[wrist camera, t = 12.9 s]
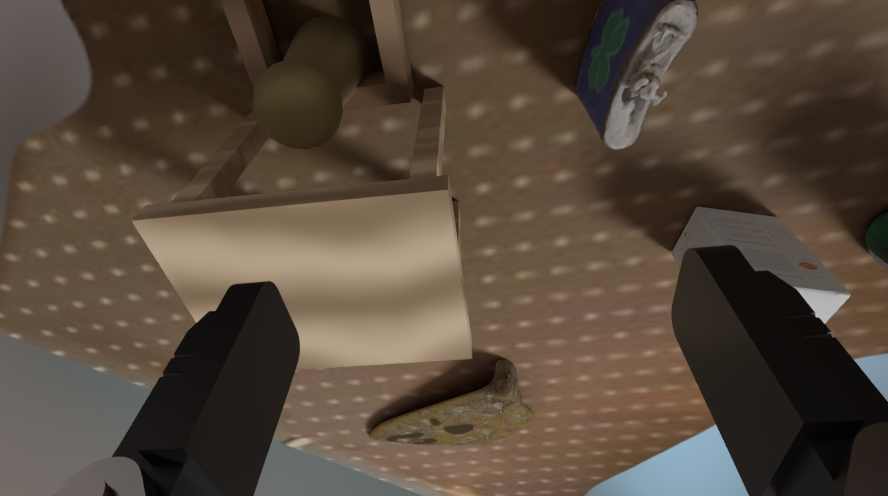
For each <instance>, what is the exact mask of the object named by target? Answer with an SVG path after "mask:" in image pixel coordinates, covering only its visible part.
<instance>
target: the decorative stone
mask: <svg viewBox="0 0 888 496" xmlns="http://www.w3.org/2000/svg"><path fill="white" fill-rule="evenodd" d="M533 418H534V412H533V411H532V410H531V409H530V408H528V407H527V406H525V405H523V404H522V403H521V396H520V391H519V387H518V379H517V372H516V369H515V367H514V365H513V364H512V363H511V362H510V361H508V360H505V359H500V360H498V361H497V362H496V365H495V375H494V378H493V380H492V382H491V383H490V384H489V385H487V386H486V387H484V388H482V389H479V390H476V391H473V392H470V393H467V394H464V395H461V396H458V397H455V398H452V399H449V400H446V401H443V402H440V403H437V404H433V405H430V406H427V407H424V408H421V409H418V410H415V411H412V412H409V413H406V414H403V415H400V416H397V417H395V418H392V419H389V420H387V421H384V422H382V423H381V424H379V425H378V426H376V427H375V428H374V429H373V430H372V431H371V432H370V435H369V436H370V438H372V439H375V440H378V441H385V442H395V443H406V444H417V445H485V446H490V445H496V444H498V443H500V442H502V441H504V440H505V439H507V438H508V437H510V436H512V435H513V434H515V433H516V432H518V431H520V430H521V429H523V428H524V427H525V426H527V425H528V424H529V423H530V422H531V421H532V420H533Z"/></svg>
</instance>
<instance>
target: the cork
mask: <svg viewBox="0 0 888 496" xmlns="http://www.w3.org/2000/svg"><path fill="white" fill-rule="evenodd" d="M370 70H371V54H370V51H369V49H368V46H367V43H366V41H365V40H364V38H363V37H362V36H361V34H360V33H359V32H358V30H357V29H355V28H354V27H353V26H351V25H350V24H349V23H348V22H346V21H344V20H341V19H338V18H336V17H333V16H319V17H316V18H313V19H310V20H307V21H306V22H305V23H304V24H303V25H302V26H300V27H299V28H298V30H297V32H296V34H295V36H294V38H293V40H292V42H291V44H290V46H289V48H288V51H287V53H286V55H285V57H284V59H283V61H281V62H278V63H275V64H273V65H272V66H271V67H269V68H268V69H267V70H266V71H265V72H263V73H262V74H261V75H260V77H259V79H258V81H257V83H256V85H255V88H254V94H253V107H254V112H255V116H256V118H257V119H258V121H259V123H260V125H261V127H262V128H263V129H264V130H265V131H266V132H267V133H268V134H269V135H270V136H271V138H273V139H275V140H276V141H278V142H279V143H281V144H283V145H286V146H289V147H293V148H299V149H309V148H313V147H316V146H319V145H321V144H323V143H324V142H325V141H327V140H328V139H330V138H331V137H332V136H333V135H334V133H335V132H336V130H337V129H338V127H339V125H340V122H341V118H342V113H343V106H344V105H345V104H346V103H347V102H348V101H349V100H350V99H351V97H352V96H353V94H354V93H355V90H356V87H357V86H358V85H359V83H360V82H361V81H362V80H363V79H364V78H365V76H366V75H367V74H368V73H370Z"/></svg>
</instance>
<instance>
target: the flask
mask: <svg viewBox="0 0 888 496" xmlns="http://www.w3.org/2000/svg"><path fill="white" fill-rule="evenodd" d="M697 21H698V7H697V4H696V0H603V2H602V3H601V4H600V6H599V10H598V12H597V13H596V15H595V18H594V20H593V23H592V26H591V28H590V30H589V32H588V39H587V41H586V44H585V48H584V51H583V55H582V57H581V58H582V59H581V62H580V64H579V68H578V73H577V77H576V78H577V79H576V92H577V95H578V98H579V100H580V101H581V102H582V104H583V106H584V107H585V109H586V110H587V112H588V114H589V116H590V118H591V120H592V122H593V123H594V125H595V127H596V129H597V131H598V133H599V134H600V137H601V139H602V141H603V143H604V145H606V146H607V147H609V148H611V149H614V150H618V149H623V148H626V147H628V146H632V145H633V143H634V142H635V141H636V139H637V138H638V136H639V134H640V132H641V128H642V125H643V121H644V118H645V115H646V112H647V109H648V107H649V105H650V103H652V105H657V104H658V103H659V102H660V101H661V100H662V99H663V98H665V97H666V96H667V92H666V91H664V92H663V93H662V94H661V95H659V94H657V92H656V89H657V88H658V87H659V86H660V85H659V84H660V81H661V80H662V78H663V76H664V73H665V71H666V70H667V68H668V66H669V65H670V63H671V62H672V60H673V58H674V57H675V55H676V54H677V53H678V51H679V50H680V49H681V48H682V46H683V45H684V44H685V43H686V42H687V41H688V39H689V38H690V36H691V34H692V33H693V31H694V29H695V27H696V25H697Z"/></svg>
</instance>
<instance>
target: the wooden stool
mask: <svg viewBox="0 0 888 496" xmlns="http://www.w3.org/2000/svg"><path fill="white" fill-rule="evenodd" d="M445 114H446V100H445V93H444V86H442V87H434V88H426V89H424V95H423V101H422V107H421V113H420V118H419V124H418V130H417V136H416V142H415V148H414V154H413V159H412V165H411V171H410V177H409V179H403V180H393V181H383V182H373V183H363V184H353V185H343V186H333V187H324V188H314V189H304V190H294V191H284V192H274V193H264V194H254V195H244V196H234V197H225V196H226V194H227V193H228V191H229V190H230V189H231V187H232V186H233V185H234V183H235V182H236V181H237V179H238V178H239V176H240V175H241V174H242V172H243V171H244V170H245V168H246V167H247V166H248V164H249V163H250V162H251V160H252V159H253V157H254V156H255V155H256V153H257V152H258V151H259V149H260V148H261V147H262V145H263V144H264V142H265V141H266V140H267V138H268V137H269V136H270V135H269V134H268V133H267V132H266V131H265V130H264V129H263V128H262V127H261V125H260V123H259V121H258V119H257V118H256V116H255V112H254V109H253V110H252V112H251V113H250V114H249V115H248V116H247V117H246V118H245V120H244V121H243V122H242V123H241V124H240V125H239V126H238V127H237V129H236V130H235V131H234V132H233V133H232V134H231V135H230V136H229V138H228V139H227V140H226V141H225V142H224V143H223V144H222V145H221V147H220V148H219V149H218V150H217V151H216V152H215V153H214V154H213V156H212V157H211V158H210V159H209V160H208V161H207V162H206V164H205V165H204V166H203V167H202V168H201V169H200V170H199V171H198V173H197V174H196V175H195V176H194V177H193V178H192V179H191V180H190V182H189V183H188V184H187V185H186V186H185V187H184V188H183V189H182V191H181V192H180V193H179V194H178V195H177V196H176V197H175V198H174V200H173V201H172V202H171V203H165V204H155V205H146V206H145V207H144V208H143V209H142V210H141V211H140V212H139V213H138V214H137V215H136V216H135V217H134V219H133V220H132V222H133V224H134V226H135V227H136V229H137V230H138V232H139V233H140V235H141V237H142V238H143V240H144V241H145V243H146V244H147V246H148V248H149V249H150V251H151V252H152V254H153V255H154V257H155V258H156V260H157V262H158V263H159V265H160V266H161V268H162V269H163V271H164V273H165V274H166V276H167V277H168V279H169V280H170V282H171V284H172V285H173V287H174V288H175V290H176V291H177V293H178V295H179V296H180V298H181V299H182V301H183V302H184V304H185V306H186V307H187V309H188V310H189V312H190V313H191V315H192V317H193V318H194V320H195V321H196V323H197V322H198V321H199V320H200V319H201V318H202V317H203V316H204V315H205V314H206V313H208V312H209V311H216V309H217V307H218V306H219V304H220V302H221V300H222V299H223V297H224V295H225V293H226V291H227V290H228V288H229V287H230V286H231V285H233V284H240V283H252V282H264V281H271V282H273V283H274V284H275V285H276V286H277V288H278V290H279V292H280V294H281V297H282V299H283V301H284V303H285V305H286V307H287V310H288V312H289V314H290V316H291V318H292V321H293V323H294V325H295V327H296V329H297V332H298V335H299V340H300V356H299V360H298V364H297V367H296V370H297V369H314V368H330V367H346V366H362V365H378V364H395V363H411V362H427V361H443V360H460V359H472V339H471V332H470V325H469V318H468V311H467V304H466V296H465V289H464V282H463V275H462V268H461V261H460V208H459V201H452V197H451V190H450V182H449V175H442V160H443V145H444V130H445Z"/></svg>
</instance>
